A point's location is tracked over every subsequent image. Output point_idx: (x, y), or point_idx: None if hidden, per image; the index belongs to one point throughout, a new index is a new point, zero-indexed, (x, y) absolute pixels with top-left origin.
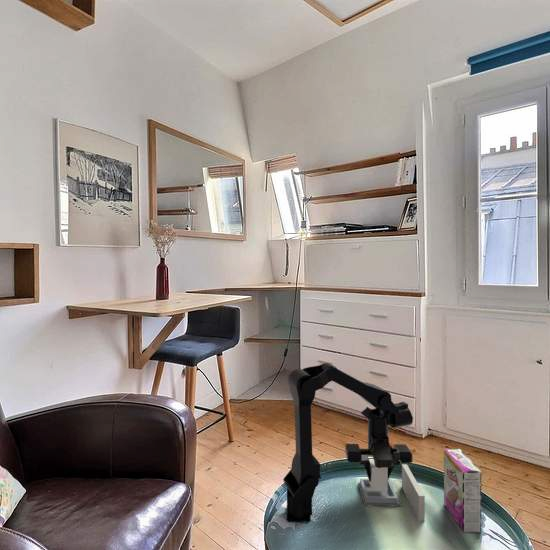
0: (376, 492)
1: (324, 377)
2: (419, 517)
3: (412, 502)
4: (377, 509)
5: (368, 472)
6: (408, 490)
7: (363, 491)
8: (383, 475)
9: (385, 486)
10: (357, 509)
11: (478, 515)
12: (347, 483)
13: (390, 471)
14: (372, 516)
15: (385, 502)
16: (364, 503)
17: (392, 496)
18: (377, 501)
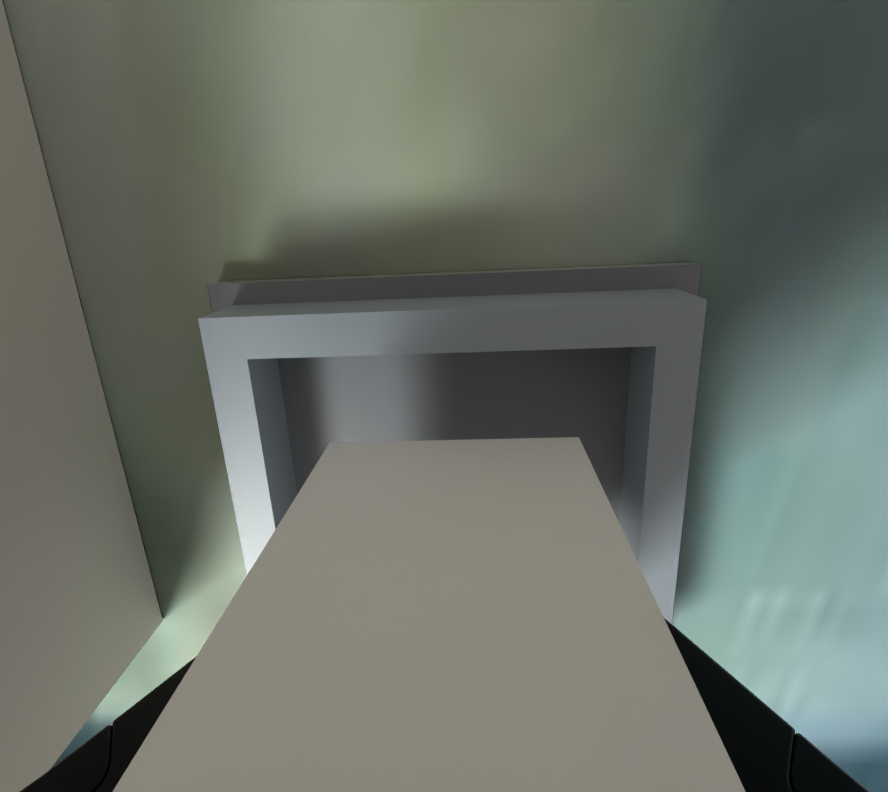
0: None
1: None
2: None
3: (3, 252)
4: (531, 190)
5: (743, 724)
6: (9, 453)
7: (677, 470)
8: (331, 620)
9: (346, 476)
10: (823, 168)
11: None
12: (781, 656)
13: (102, 751)
14: (645, 17)
15: (399, 301)
16: (697, 279)
17: (276, 352)
18: (511, 299)
